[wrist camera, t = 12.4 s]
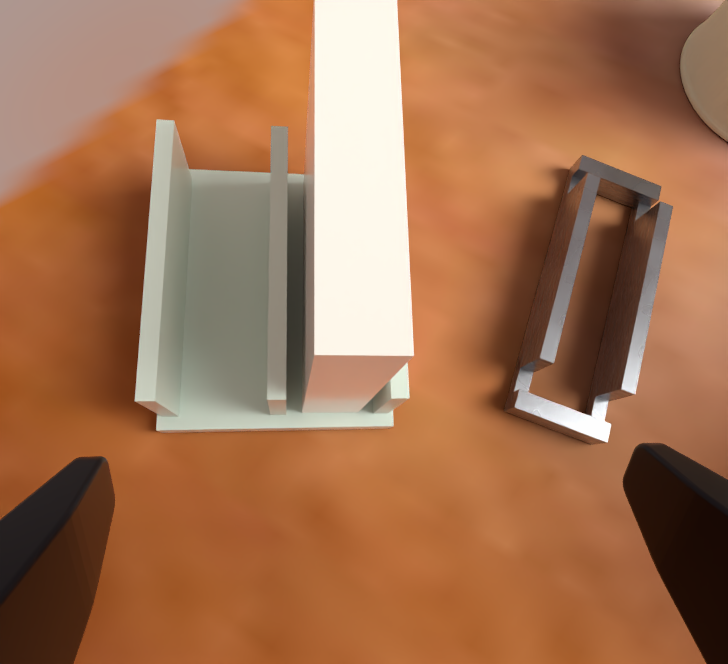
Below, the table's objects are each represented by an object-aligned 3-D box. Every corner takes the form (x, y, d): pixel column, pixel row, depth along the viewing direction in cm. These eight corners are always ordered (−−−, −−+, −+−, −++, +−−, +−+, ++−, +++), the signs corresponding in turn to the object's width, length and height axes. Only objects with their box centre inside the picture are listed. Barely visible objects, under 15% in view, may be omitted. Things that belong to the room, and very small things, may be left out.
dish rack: (389, 428, 23) (416, 413, 18) (161, 432, 22) (126, 417, 17) (379, 189, 26) (399, 121, 21) (177, 180, 24) (151, 107, 20)
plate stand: (591, 444, 24) (625, 440, 21) (503, 411, 24) (528, 402, 21) (645, 198, 28) (680, 171, 25) (569, 168, 27) (596, 138, 25)
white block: (357, 412, 22) (413, 355, 12) (301, 412, 22) (314, 355, 12) (353, 185, 24) (396, -7, 15) (303, 183, 24) (314, -15, 15)
